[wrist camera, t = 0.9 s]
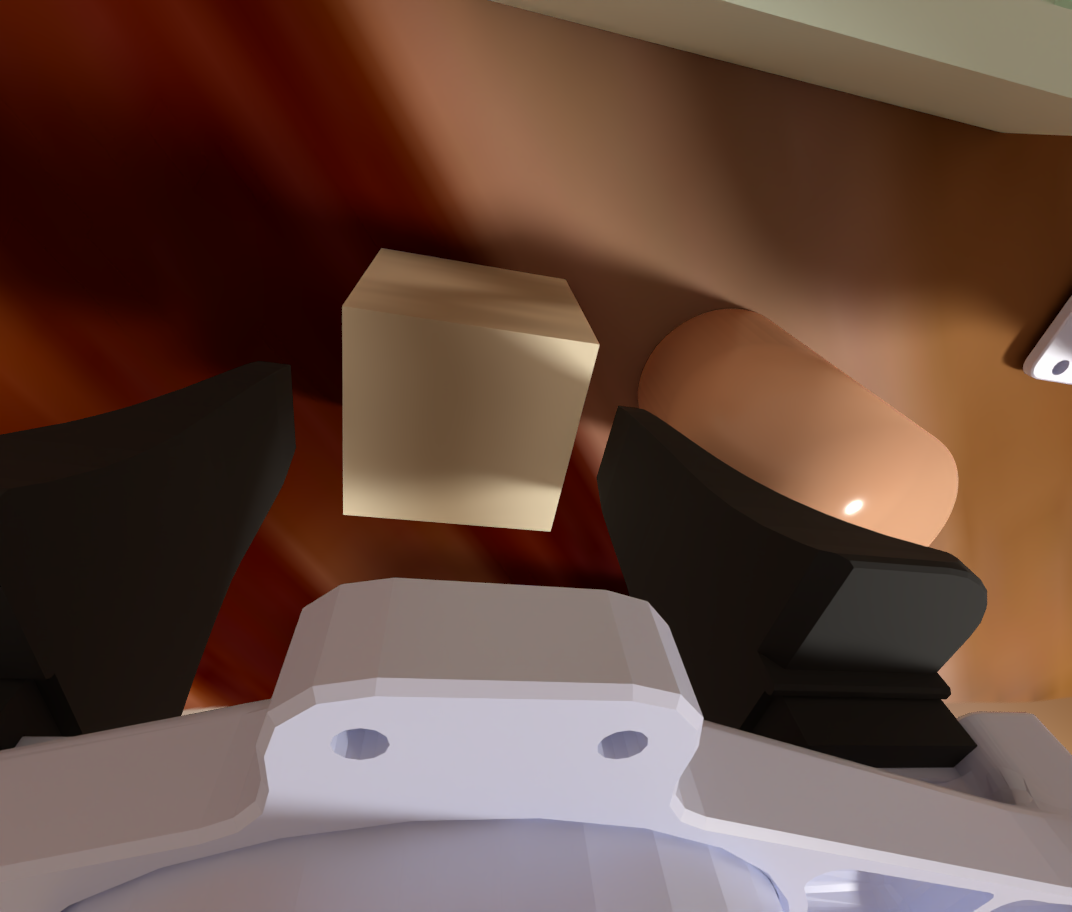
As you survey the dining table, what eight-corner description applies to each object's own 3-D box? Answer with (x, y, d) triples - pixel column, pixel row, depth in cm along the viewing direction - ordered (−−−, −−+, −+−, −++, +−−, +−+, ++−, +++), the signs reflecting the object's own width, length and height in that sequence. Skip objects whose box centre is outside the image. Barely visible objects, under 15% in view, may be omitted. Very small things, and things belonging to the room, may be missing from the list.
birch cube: (565, 278, 15) (599, 344, 11) (532, 431, 18) (550, 531, 13) (381, 247, 14) (341, 305, 10) (376, 412, 17) (343, 514, 12)
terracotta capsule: (818, 321, 16) (1010, 439, 10) (753, 457, 19) (878, 613, 13) (665, 296, 15) (781, 409, 10) (619, 442, 18) (689, 602, 12)
